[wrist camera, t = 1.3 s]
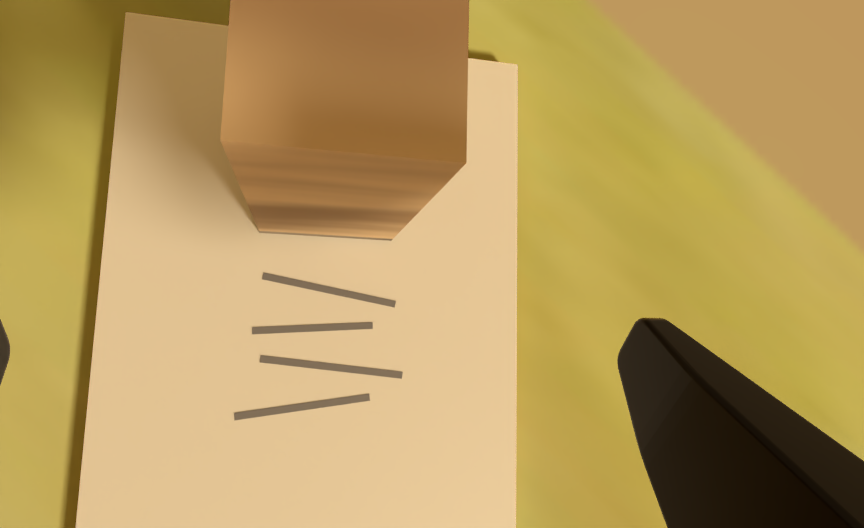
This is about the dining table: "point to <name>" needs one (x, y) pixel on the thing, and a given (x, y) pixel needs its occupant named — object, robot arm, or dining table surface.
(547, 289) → the dining table surface
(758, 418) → the robot arm
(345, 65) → the block
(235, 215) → the board
